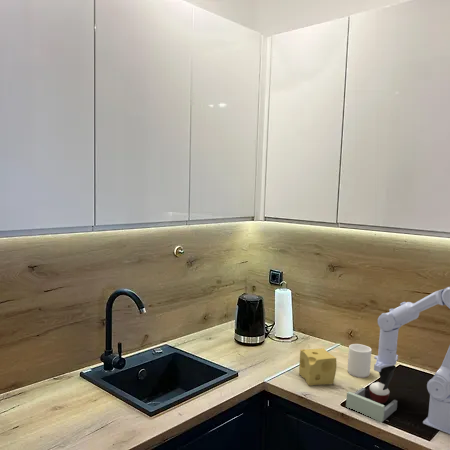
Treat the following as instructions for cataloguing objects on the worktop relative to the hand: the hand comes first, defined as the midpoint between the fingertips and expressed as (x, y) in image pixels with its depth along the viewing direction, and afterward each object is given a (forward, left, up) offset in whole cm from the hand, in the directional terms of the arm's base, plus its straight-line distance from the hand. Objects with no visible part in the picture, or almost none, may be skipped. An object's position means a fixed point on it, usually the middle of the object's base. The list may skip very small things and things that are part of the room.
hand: (384, 385), depth 146 cm
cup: (+17, -13, -5) cm, 22 cm away
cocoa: (0, +3, -5) cm, 6 cm away
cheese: (+24, +5, -5) cm, 25 cm away
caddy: (0, +10, -5) cm, 11 cm away
